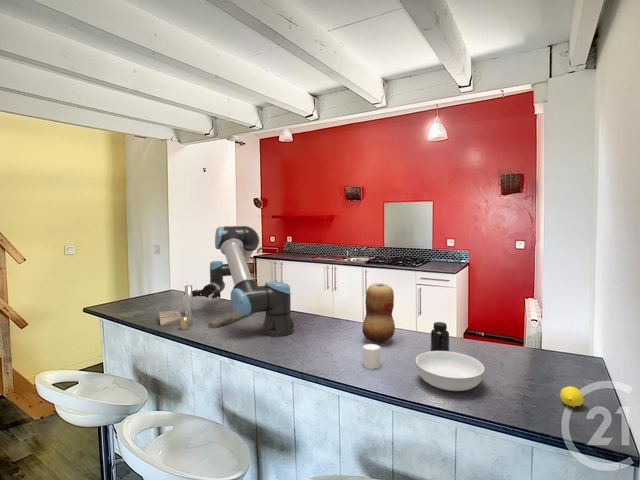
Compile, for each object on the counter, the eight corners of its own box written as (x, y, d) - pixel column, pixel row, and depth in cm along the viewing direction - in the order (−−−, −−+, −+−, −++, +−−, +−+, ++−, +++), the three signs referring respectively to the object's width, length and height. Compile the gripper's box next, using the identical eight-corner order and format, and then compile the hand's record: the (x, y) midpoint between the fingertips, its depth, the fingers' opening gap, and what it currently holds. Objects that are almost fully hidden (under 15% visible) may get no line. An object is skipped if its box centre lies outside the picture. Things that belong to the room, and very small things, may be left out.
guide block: (181, 323, 186) (181, 316, 186) (160, 325, 182) (160, 318, 181) (179, 316, 198) (178, 310, 198) (159, 318, 194) (158, 312, 194)
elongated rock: (203, 329, 180) (218, 333, 176) (202, 319, 180) (218, 322, 175) (246, 309, 212) (260, 311, 207) (246, 300, 211) (260, 302, 207)
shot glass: (368, 360, 136) (368, 342, 136) (384, 365, 132) (384, 346, 131) (358, 366, 131) (358, 347, 130) (374, 371, 126) (374, 351, 126)
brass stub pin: (189, 330, 175) (188, 317, 174) (181, 331, 173) (180, 318, 173) (188, 328, 178) (187, 315, 177) (180, 329, 176) (180, 316, 176)
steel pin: (193, 325, 181) (192, 286, 180) (186, 326, 180) (185, 286, 178) (192, 324, 184) (191, 284, 183) (185, 324, 183) (184, 285, 181)
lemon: (562, 400, 107) (563, 381, 107) (584, 406, 103) (585, 387, 103) (557, 406, 102) (558, 386, 102) (580, 413, 98) (582, 393, 98)
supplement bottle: (426, 352, 144) (427, 322, 143) (441, 349, 146) (441, 320, 146) (438, 358, 137) (438, 327, 137) (452, 355, 140) (453, 325, 139)
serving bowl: (405, 388, 114) (405, 366, 114) (426, 365, 131) (426, 346, 131) (477, 407, 102) (477, 383, 102) (489, 379, 120) (490, 358, 119)
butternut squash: (377, 350, 146) (377, 288, 145) (356, 340, 157) (356, 283, 156) (401, 343, 154) (402, 284, 152) (380, 334, 165) (380, 280, 163)
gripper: (232, 296, 211) (220, 305, 190) (190, 296, 213) (173, 305, 192) (231, 283, 211) (219, 291, 190) (189, 283, 212) (173, 291, 191)
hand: (196, 298), depth 191 cm, fingers open, 13 cm apart
